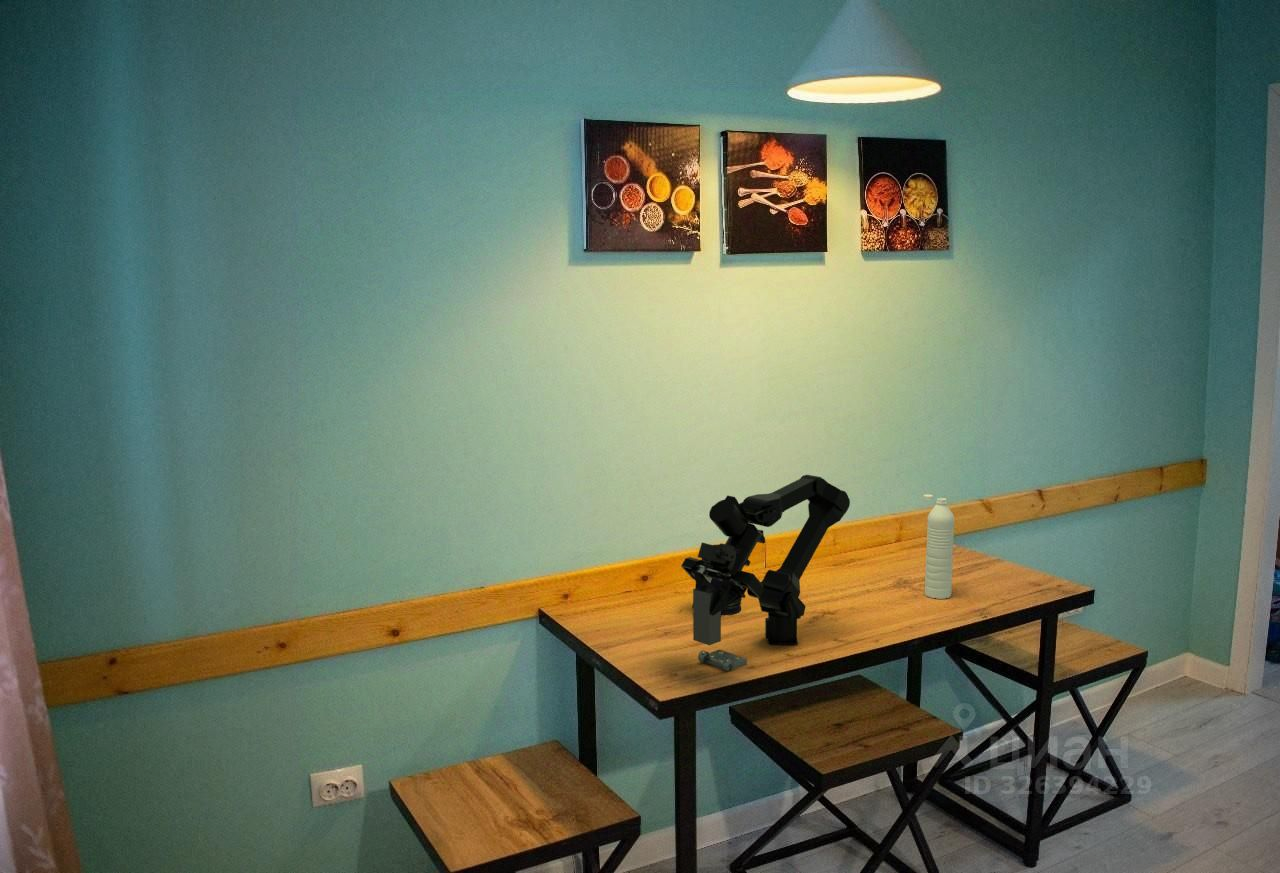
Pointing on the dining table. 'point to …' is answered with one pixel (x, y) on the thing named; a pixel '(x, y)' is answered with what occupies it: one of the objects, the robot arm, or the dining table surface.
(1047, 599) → the dining table surface
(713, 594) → the dark grey block
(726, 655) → the fixed hinge leaf
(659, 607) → the dining table surface
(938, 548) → the water bottle
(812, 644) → the dining table surface
